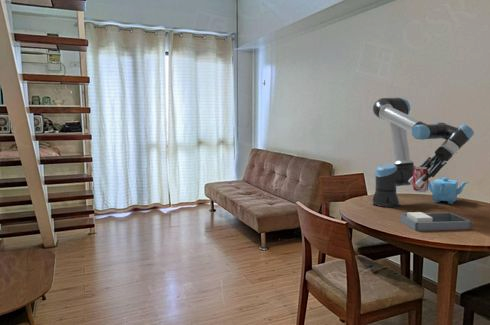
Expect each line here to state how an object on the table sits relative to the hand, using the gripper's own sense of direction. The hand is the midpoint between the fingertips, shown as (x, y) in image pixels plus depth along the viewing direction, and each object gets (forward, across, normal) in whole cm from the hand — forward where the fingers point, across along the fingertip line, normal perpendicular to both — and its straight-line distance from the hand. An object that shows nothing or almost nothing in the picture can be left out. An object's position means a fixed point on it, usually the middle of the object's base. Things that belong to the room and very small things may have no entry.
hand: (413, 184), depth 179 cm
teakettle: (-13, +34, -38) cm, 53 cm away
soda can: (0, 0, -5) cm, 5 cm away
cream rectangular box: (+15, -15, -9) cm, 23 cm away
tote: (+11, -15, -15) cm, 23 cm away
